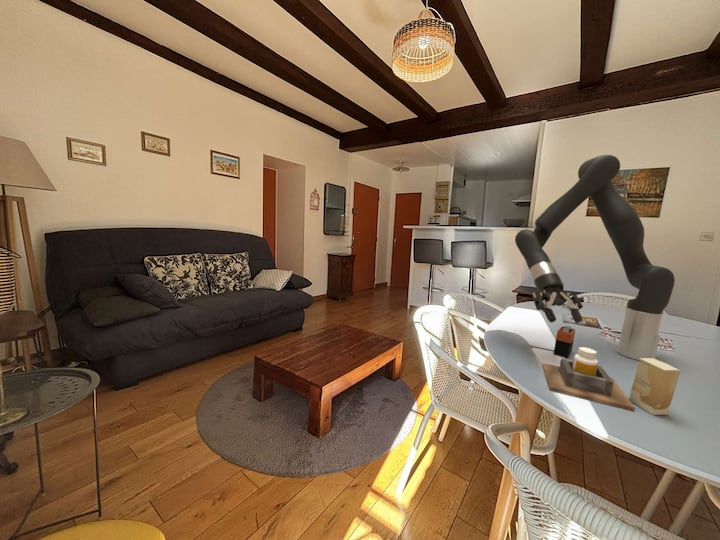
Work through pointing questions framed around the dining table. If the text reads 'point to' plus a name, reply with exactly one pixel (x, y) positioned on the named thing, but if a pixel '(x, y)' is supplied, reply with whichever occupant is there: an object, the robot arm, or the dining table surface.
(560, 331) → the battery
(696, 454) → the dining table surface
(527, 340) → the dining table surface
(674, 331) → the dining table surface
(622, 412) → the dining table surface
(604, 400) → the walnut holder board
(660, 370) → the skincare box
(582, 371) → the supplement bottle
